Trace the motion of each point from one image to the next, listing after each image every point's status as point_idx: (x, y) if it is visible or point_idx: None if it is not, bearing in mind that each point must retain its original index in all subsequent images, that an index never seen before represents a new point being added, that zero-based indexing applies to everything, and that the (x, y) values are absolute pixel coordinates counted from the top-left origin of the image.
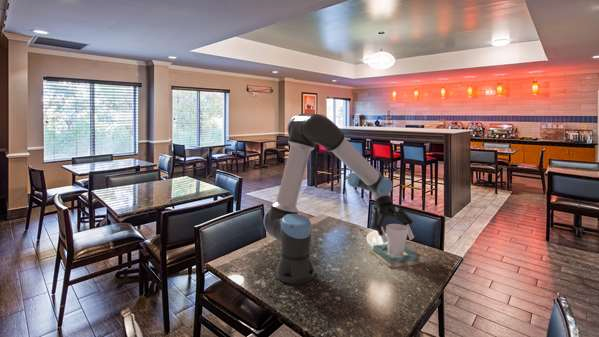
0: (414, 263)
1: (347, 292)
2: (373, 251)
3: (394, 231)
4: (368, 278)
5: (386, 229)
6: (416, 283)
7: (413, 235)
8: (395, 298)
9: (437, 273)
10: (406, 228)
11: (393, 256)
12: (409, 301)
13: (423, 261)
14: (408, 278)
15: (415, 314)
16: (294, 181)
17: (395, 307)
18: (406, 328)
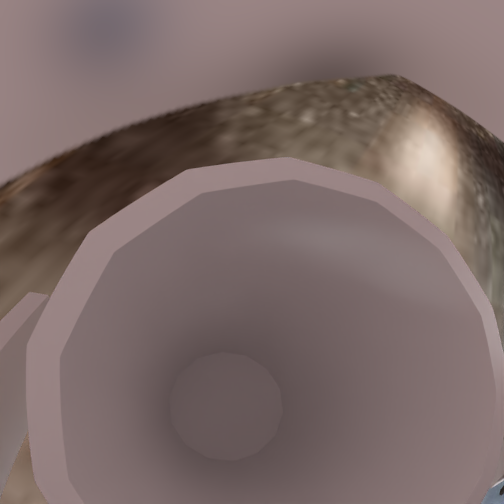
0: None
1: (495, 201)
2: None
3: (440, 249)
4: (452, 236)
5: (474, 431)
6: (294, 136)
7: (18, 304)
8: (396, 125)
9: (135, 152)
10: (110, 274)
11: (271, 370)
12: (365, 102)
13: None
14: None
15: (370, 80)
16: None
17: (405, 109)
18: (398, 77)
